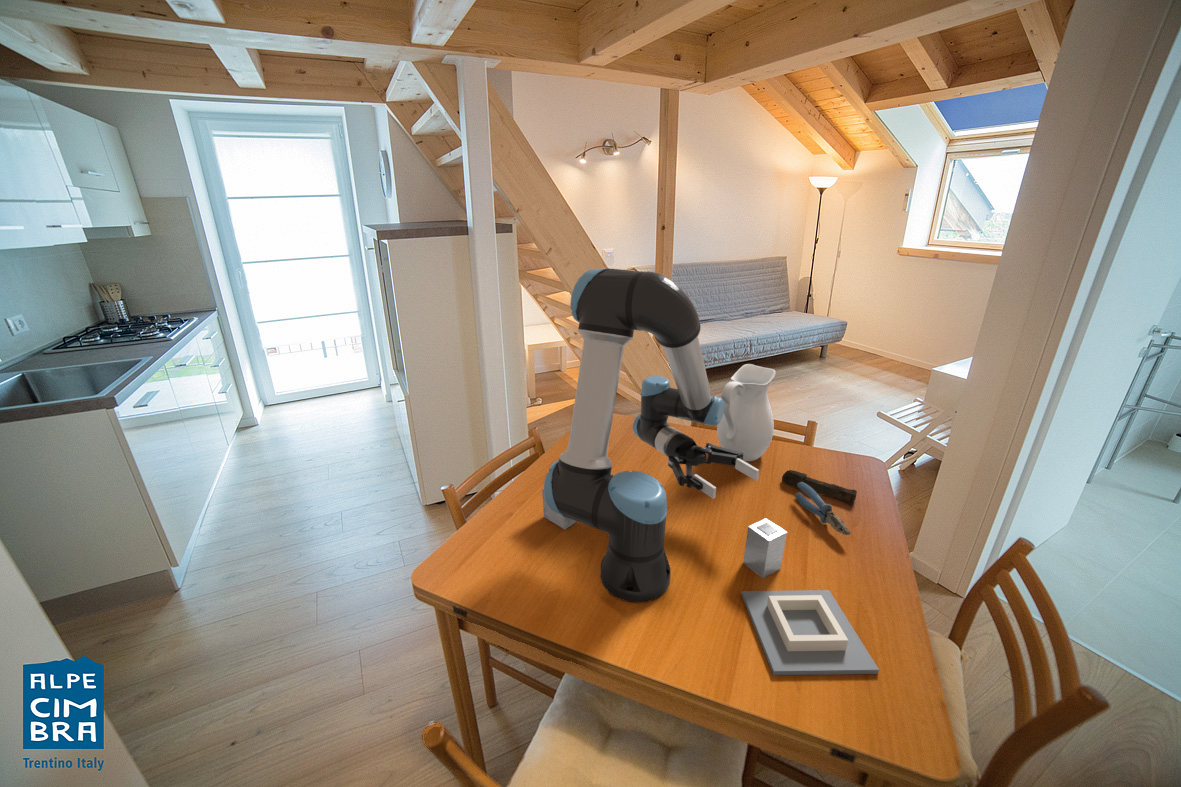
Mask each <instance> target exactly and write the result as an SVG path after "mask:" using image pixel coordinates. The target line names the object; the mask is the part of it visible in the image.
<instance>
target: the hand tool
mask: <svg viewBox="0 0 1181 787" xmlns="http://www.w3.org/2000/svg"><path fill="white" fill-rule="evenodd" d="M781 482H782V483H784V484H786V485H788V486H790V487H793V488H795V489H798V490H801V489H800V488H798V486H797V484H798V483H799V482H803V483H805V484H807V485H809V486H810V487H811V488H813V489H814V490H815V491H816V493H817V494H820V495H822V496H823V495H824V496H827V497H829V498H833V499H836V500H839V501H841V502H846V503H848V504H849V505H850V506H851V507H852V506H853V505H854V503H855V501H856V499H857V490H856V489H850V488H846V487H843V486H840V485H837V484H835V483H829V482H825V481H821V480H818V479H815V478H812V477H809V476H808V475H807V474H806V473H804V472H799V471H797V470H793V469H788V470H786V471H785V472H784V473H783V474H782V476H781Z"/></svg>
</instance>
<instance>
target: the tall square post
mask: <svg viewBox="0 0 1181 787" xmlns="http://www.w3.org/2000/svg"><path fill="white" fill-rule="evenodd" d="M787 535H788V532H787V531H786V530H785V529H783V528H782V527H781V526H779V525H777V524H775V523H774V522H773V521H771V520H769V519H768V518H763V519H761V520H759V521H757V522H754V523H752V524H751V525H748V527H747V533H746V541H745V547H744V553H743V555H744V556H743V560H742V563H743V564H744V565H745V567H747V568H749V569H750V570H751V571H752V572H753V573H755V574H756V575H758V576H759V577H760V578H761V579H765V578H767V577H769V576H770V575H772V574H774V573H776V572H778V571H780V570H781V568H782V563H783V562H782V561H783V556H784V553H785V552H784V550H785V545H786V539H787Z"/></svg>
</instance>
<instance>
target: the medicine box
mask: <svg viewBox="0 0 1181 787" xmlns="http://www.w3.org/2000/svg"><path fill="white" fill-rule="evenodd" d="M541 492H542V494H541V495H542V507H543V508H542V509H543V517H544V518H545V519H547V520H548V521H550V522H551V523H553V524H555V525H557V526H558V527H560V528H561V529H563V530H567V529H568V528H570V527H571V526H573V525H574V524H576V523H577V521H575V520H572V519H569V518H565V517H563V516H562V515H560V514H558V513H556V512H554V511H552V510H551V509H550V507H549V506H548V505H547V503H546V501H545V497H544V488H543V489H542V490H541Z"/></svg>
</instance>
